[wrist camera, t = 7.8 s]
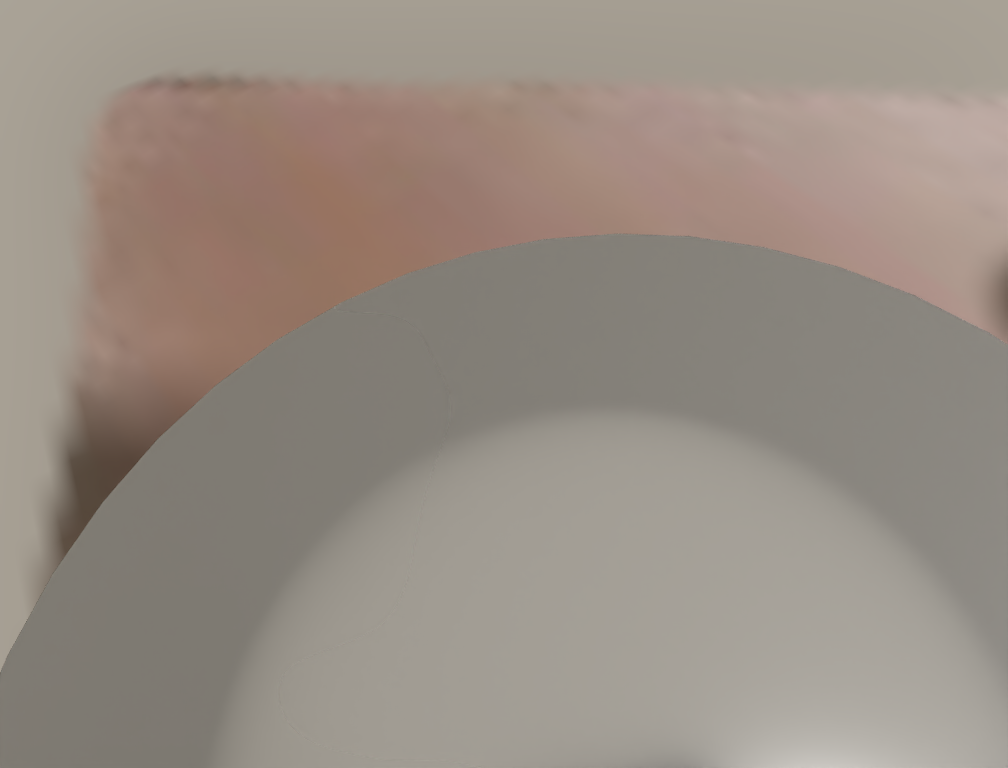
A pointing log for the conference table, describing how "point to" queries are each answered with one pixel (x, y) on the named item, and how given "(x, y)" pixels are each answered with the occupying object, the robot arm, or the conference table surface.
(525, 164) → the conference table surface
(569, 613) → the silver cylinder
